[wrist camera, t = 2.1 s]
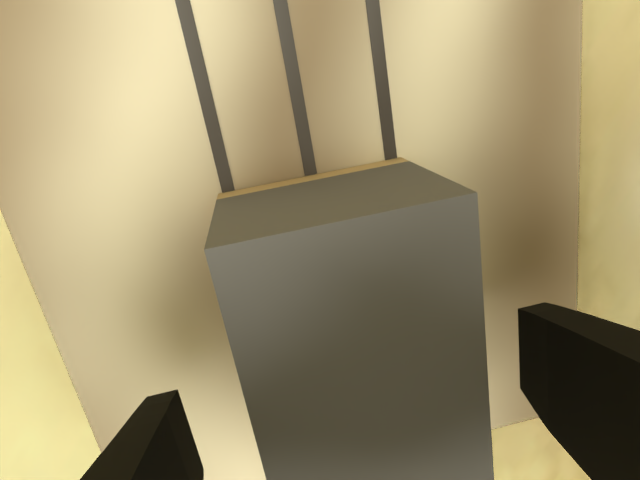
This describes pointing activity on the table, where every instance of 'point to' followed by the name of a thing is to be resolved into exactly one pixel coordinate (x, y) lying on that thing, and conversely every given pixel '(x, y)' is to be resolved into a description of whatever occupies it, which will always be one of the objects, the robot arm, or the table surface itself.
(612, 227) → the table surface
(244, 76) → the board
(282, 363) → the block
